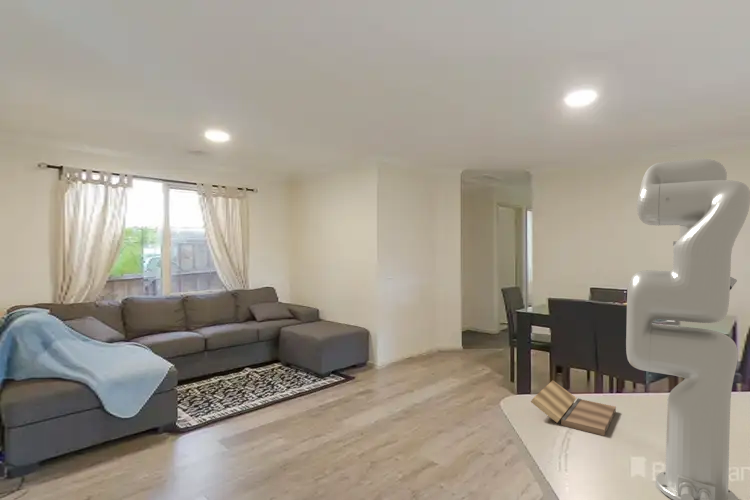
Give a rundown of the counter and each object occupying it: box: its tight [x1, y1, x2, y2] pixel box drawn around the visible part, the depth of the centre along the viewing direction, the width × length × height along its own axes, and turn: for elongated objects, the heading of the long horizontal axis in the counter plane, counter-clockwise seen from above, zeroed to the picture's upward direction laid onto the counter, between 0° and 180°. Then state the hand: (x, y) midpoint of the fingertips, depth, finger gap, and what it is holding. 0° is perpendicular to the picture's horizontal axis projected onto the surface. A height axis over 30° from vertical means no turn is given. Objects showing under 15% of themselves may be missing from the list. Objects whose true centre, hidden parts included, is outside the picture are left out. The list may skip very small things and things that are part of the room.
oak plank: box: [530, 379, 577, 424], centre depth 121 cm, size 20×8×2 cm
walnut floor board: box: [560, 398, 617, 437], centre depth 116 cm, size 20×10×2 cm, turn 143°
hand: (694, 307), depth 116 cm, fingers open, 9 cm apart
